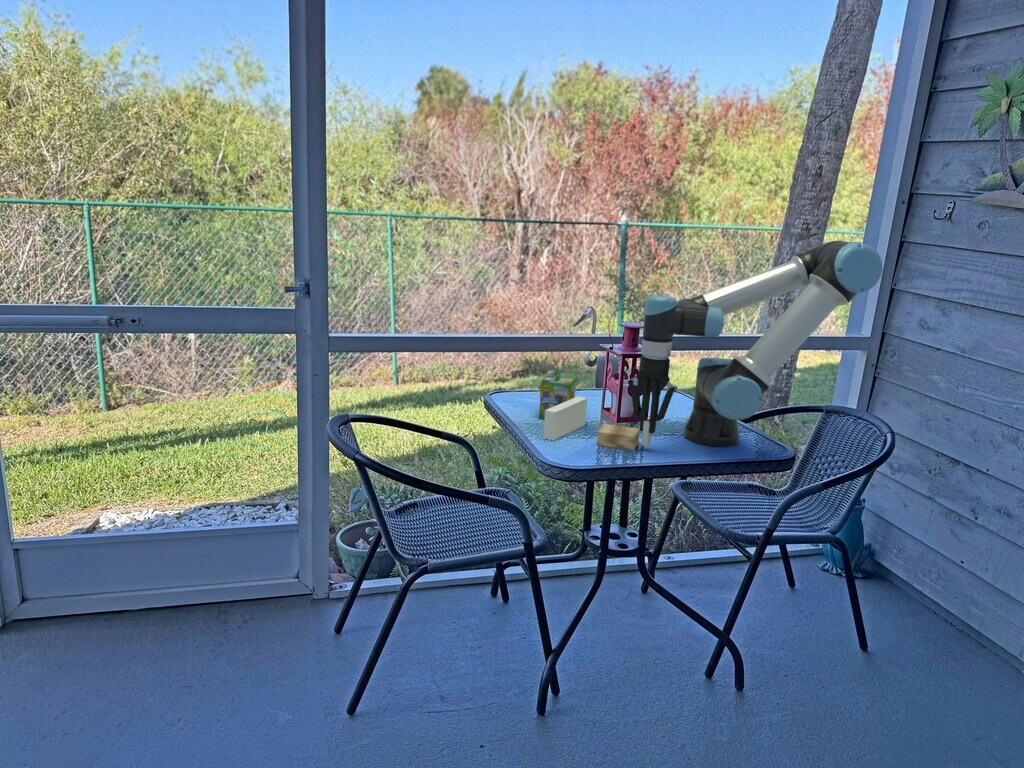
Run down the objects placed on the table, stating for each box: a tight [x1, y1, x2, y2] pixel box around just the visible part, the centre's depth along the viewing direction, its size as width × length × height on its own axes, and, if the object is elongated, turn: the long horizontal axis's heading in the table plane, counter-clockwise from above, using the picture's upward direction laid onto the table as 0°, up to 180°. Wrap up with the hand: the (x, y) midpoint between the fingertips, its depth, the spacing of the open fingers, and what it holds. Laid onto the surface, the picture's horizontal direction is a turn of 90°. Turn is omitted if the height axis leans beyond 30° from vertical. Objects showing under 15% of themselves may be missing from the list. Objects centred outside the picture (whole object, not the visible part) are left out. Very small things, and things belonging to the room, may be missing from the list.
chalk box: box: [538, 366, 577, 420], centre depth 219 cm, size 9×9×15 cm
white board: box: [542, 396, 588, 442], centre depth 205 cm, size 3×20×8 cm, turn 149°
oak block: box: [596, 423, 641, 451], centre depth 198 cm, size 10×8×4 cm
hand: (645, 443), depth 194 cm, fingers closed
